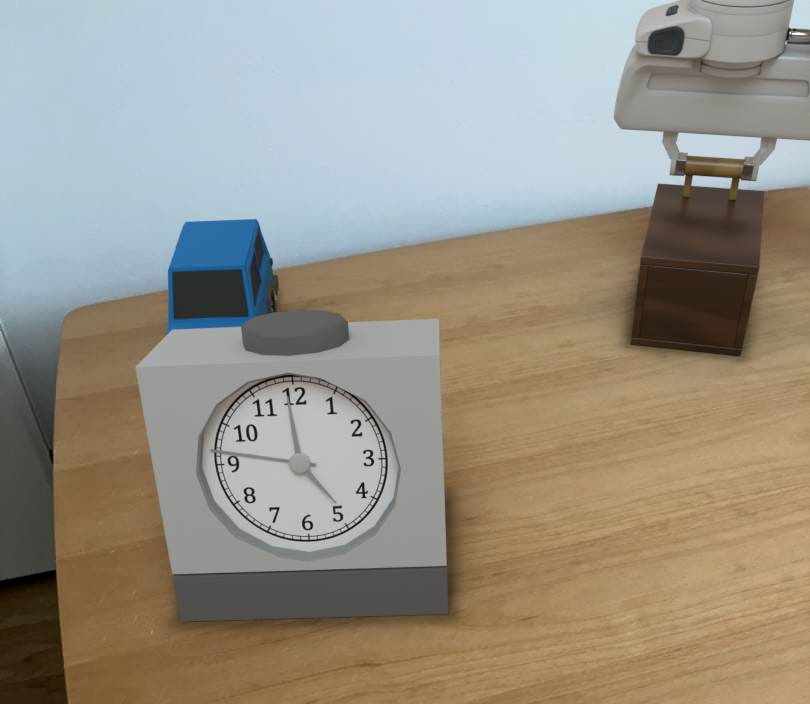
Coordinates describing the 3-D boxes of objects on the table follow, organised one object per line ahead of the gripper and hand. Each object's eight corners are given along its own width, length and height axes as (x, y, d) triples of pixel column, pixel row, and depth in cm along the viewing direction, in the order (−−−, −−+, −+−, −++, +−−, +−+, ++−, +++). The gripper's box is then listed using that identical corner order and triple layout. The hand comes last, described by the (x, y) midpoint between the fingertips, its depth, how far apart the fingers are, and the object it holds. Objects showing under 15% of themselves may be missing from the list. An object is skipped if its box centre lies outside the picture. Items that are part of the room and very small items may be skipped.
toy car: (162, 407, 97) (138, 317, 90) (197, 302, 111) (178, 216, 104) (258, 405, 97) (241, 314, 90) (281, 299, 110) (267, 213, 103)
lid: (656, 190, 105) (662, 144, 101) (763, 198, 102) (772, 151, 99) (640, 264, 94) (645, 216, 91) (757, 274, 92) (768, 225, 88)
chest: (646, 271, 110) (656, 194, 104) (746, 280, 108) (762, 202, 102) (630, 344, 100) (639, 264, 94) (740, 356, 98) (757, 275, 92)
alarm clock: (180, 621, 77) (113, 408, 63) (211, 485, 88) (159, 278, 74) (448, 613, 76) (440, 395, 62) (444, 477, 88) (437, 266, 73)
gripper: (859, 19, 90) (822, 169, 100) (627, 11, 95) (614, 155, 104) (861, 43, 86) (823, 198, 95) (619, 34, 90) (605, 182, 100)
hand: (712, 176), depth 100 cm, fingers closed on lid, 5 cm apart
